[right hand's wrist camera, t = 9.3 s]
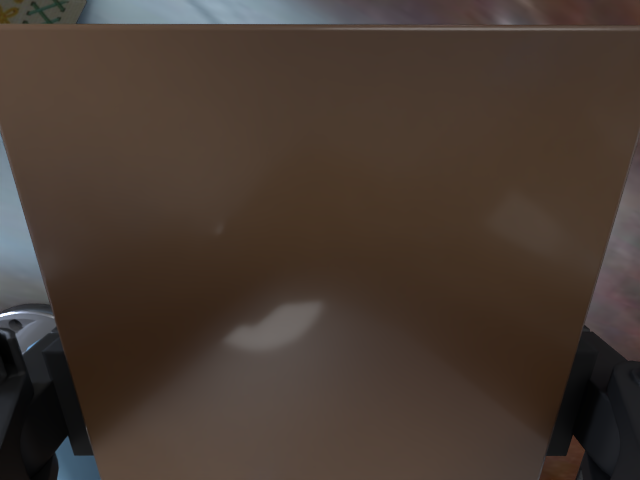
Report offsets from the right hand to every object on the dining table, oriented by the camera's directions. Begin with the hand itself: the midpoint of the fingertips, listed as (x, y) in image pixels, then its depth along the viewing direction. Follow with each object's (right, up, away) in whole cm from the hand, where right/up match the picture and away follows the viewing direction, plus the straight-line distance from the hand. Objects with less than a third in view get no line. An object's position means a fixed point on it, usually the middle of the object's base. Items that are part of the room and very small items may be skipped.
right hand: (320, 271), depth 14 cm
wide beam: (0, -22, +9) cm, 24 cm away
